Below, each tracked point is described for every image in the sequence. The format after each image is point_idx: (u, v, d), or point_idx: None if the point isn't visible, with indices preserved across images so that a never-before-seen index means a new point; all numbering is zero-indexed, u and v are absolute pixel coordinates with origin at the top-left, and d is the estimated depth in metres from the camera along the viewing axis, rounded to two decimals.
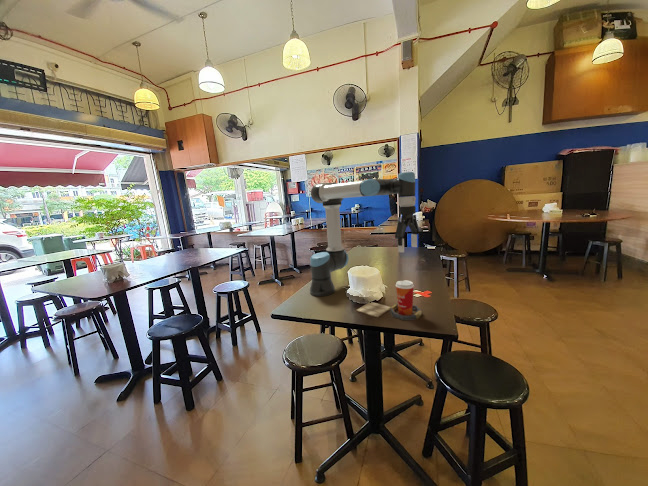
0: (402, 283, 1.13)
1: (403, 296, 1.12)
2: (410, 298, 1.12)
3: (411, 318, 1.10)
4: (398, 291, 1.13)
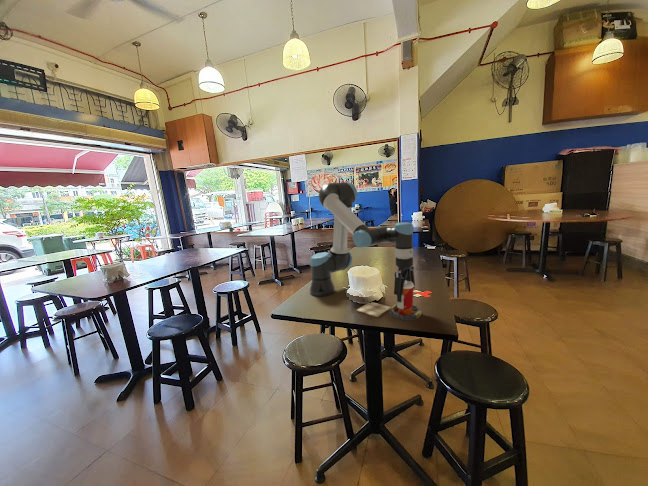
0: None
1: (403, 296, 1.12)
2: (410, 298, 1.12)
3: (411, 318, 1.10)
4: None
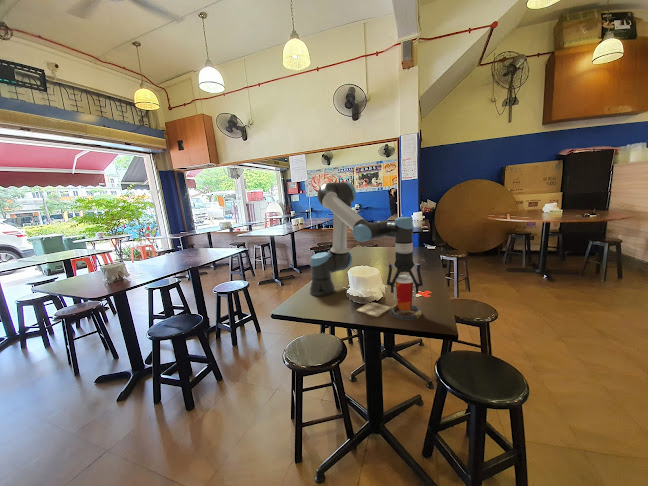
0: (400, 277, 1.15)
1: (396, 289, 1.15)
2: (402, 293, 1.12)
3: (411, 318, 1.10)
4: None
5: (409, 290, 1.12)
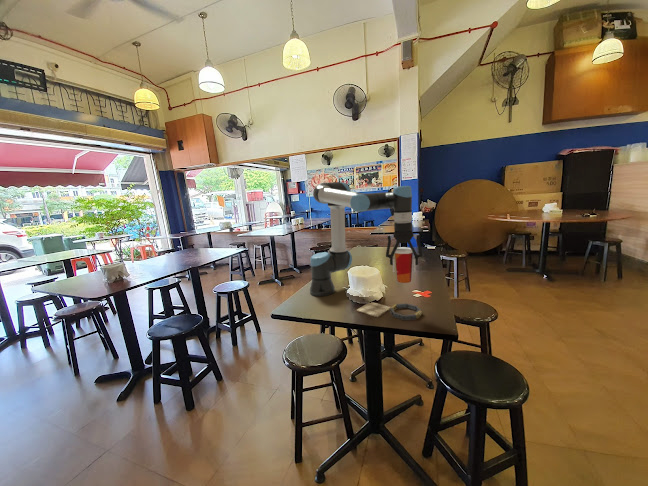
0: (400, 248, 1.12)
1: (396, 261, 1.12)
2: (401, 264, 1.10)
3: (411, 318, 1.10)
4: None
5: (408, 261, 1.09)
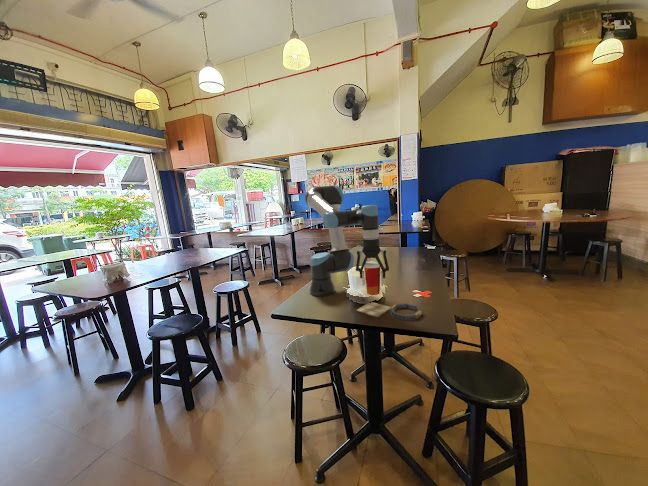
0: (369, 262, 1.20)
1: (365, 274, 1.20)
2: (369, 278, 1.17)
3: (411, 318, 1.10)
4: None
5: (376, 275, 1.17)
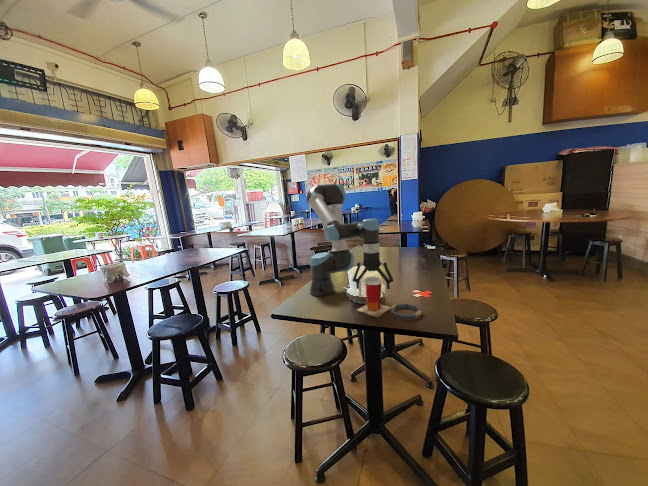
0: (370, 278, 1.21)
1: (366, 290, 1.21)
2: (370, 294, 1.19)
3: (411, 318, 1.10)
4: None
5: (377, 291, 1.18)
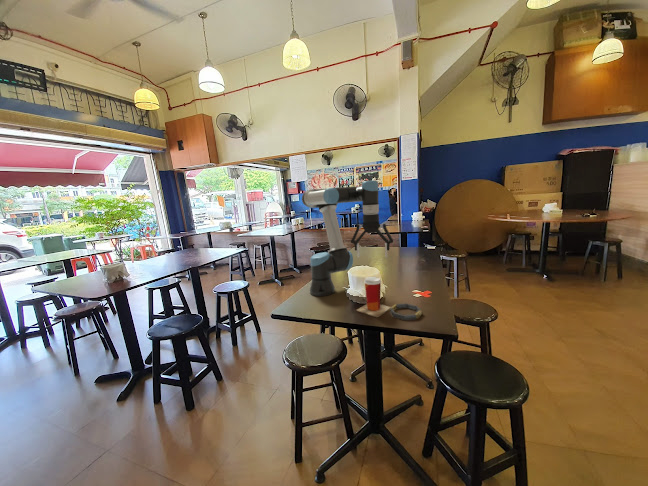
0: (369, 278, 1.21)
1: None
2: (370, 294, 1.19)
3: (411, 318, 1.10)
4: None
5: (376, 291, 1.18)
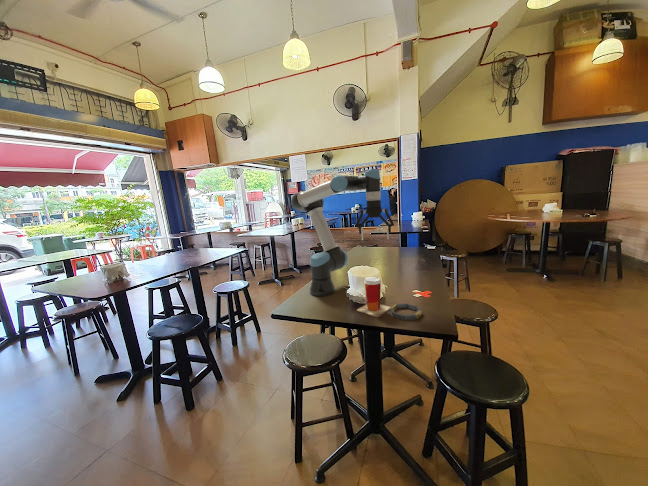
0: (369, 278, 1.21)
1: None
2: (370, 294, 1.19)
3: (411, 318, 1.10)
4: None
5: (376, 291, 1.18)
